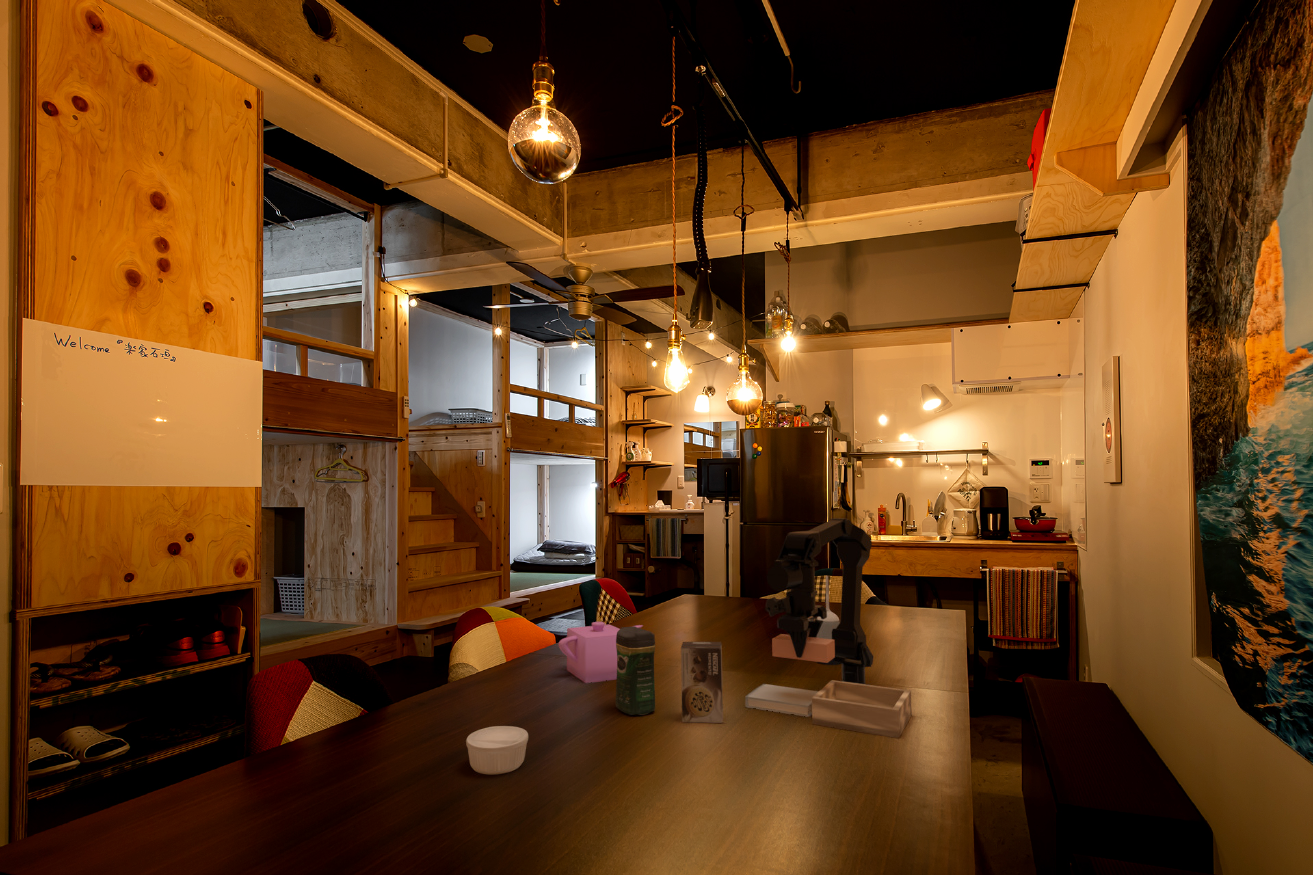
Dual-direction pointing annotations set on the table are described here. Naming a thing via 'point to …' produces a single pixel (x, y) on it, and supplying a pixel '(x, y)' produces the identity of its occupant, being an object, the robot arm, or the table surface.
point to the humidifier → (828, 624)
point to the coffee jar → (635, 671)
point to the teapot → (591, 652)
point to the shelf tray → (862, 708)
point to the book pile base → (781, 700)
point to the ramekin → (497, 749)
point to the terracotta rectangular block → (813, 650)
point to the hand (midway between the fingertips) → (803, 654)
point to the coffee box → (701, 682)
